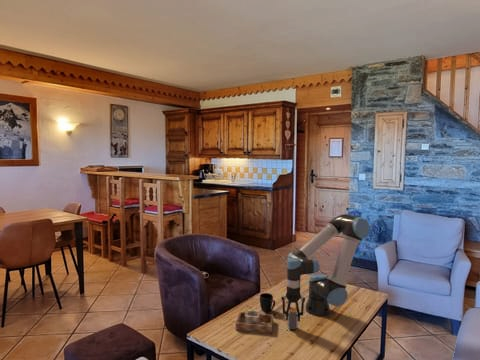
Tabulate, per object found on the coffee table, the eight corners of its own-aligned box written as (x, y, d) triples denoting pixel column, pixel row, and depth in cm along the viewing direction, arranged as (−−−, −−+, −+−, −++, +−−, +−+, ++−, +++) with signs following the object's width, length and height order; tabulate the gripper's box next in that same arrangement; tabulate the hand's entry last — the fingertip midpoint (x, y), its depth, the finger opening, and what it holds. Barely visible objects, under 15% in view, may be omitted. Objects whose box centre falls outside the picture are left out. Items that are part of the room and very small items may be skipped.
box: (273, 321, 192) (273, 309, 191) (271, 334, 178) (271, 321, 177) (239, 318, 195) (239, 306, 194) (235, 330, 181) (235, 317, 181)
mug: (268, 317, 197) (269, 301, 196) (256, 309, 207) (257, 294, 206) (279, 313, 201) (279, 298, 201) (266, 306, 211) (267, 291, 211)
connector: (296, 325, 186) (296, 306, 185) (296, 329, 182) (296, 310, 181) (289, 324, 186) (289, 306, 186) (289, 328, 182) (289, 309, 182)
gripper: (308, 284, 185) (307, 324, 186) (278, 282, 187) (277, 321, 189) (309, 289, 177) (308, 331, 179) (277, 287, 180) (277, 328, 182)
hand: (292, 326), depth 184 cm, fingers closed on connector, 4 cm apart
